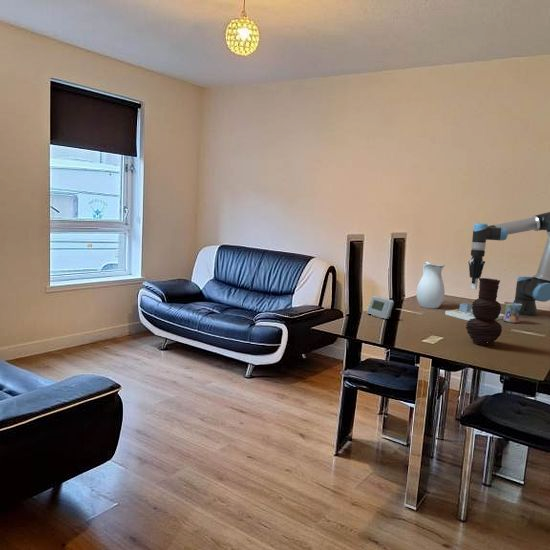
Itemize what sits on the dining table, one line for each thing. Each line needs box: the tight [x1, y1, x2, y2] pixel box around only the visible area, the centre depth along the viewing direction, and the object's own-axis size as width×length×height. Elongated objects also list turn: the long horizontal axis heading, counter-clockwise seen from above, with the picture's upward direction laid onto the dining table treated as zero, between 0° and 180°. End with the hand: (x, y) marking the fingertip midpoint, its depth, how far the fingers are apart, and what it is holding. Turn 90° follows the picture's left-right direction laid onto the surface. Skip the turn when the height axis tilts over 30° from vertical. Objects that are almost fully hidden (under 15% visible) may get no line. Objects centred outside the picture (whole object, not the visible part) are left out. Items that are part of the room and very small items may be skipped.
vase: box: [465, 277, 503, 346], centre depth 225 cm, size 15×15×30 cm
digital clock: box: [366, 295, 395, 320], centre depth 271 cm, size 16×9×11 cm, turn 21°
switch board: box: [444, 307, 505, 322], centre depth 289 cm, size 30×20×3 cm, turn 122°
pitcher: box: [415, 261, 446, 309], centre depth 313 cm, size 24×17×28 cm
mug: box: [502, 301, 522, 324], centre depth 280 cm, size 12×9×11 cm
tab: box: [458, 302, 472, 312], centre depth 291 cm, size 4×5×5 cm
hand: (473, 288), depth 292 cm, fingers closed
